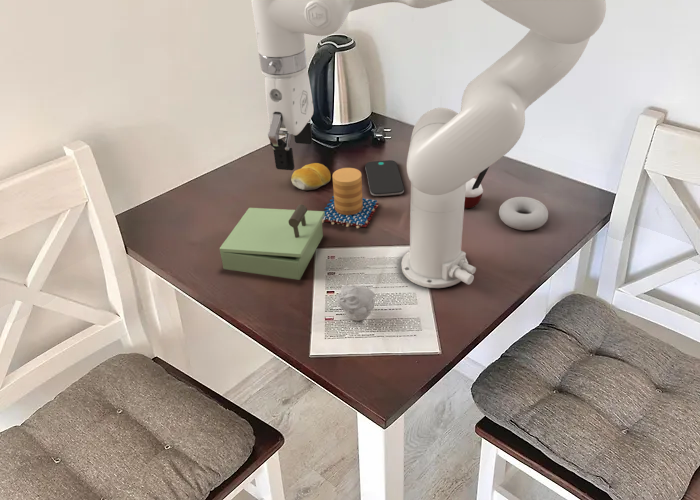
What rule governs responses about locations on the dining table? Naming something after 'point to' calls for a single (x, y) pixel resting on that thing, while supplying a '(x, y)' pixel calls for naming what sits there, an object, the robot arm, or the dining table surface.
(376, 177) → the smartphone
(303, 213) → the box lid
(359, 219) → the woven mat
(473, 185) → the cocoa
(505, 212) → the donut
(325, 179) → the bread roll
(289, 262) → the box
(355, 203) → the cookies
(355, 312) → the frog figurine
